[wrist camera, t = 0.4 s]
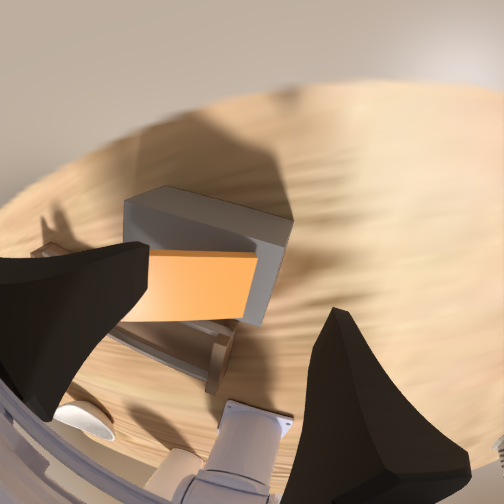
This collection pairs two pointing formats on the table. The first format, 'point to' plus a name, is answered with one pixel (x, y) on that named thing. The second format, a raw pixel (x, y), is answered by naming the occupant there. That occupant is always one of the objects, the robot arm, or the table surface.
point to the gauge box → (211, 234)
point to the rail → (175, 339)
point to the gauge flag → (195, 286)
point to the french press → (500, 451)
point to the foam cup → (173, 472)
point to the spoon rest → (86, 418)
